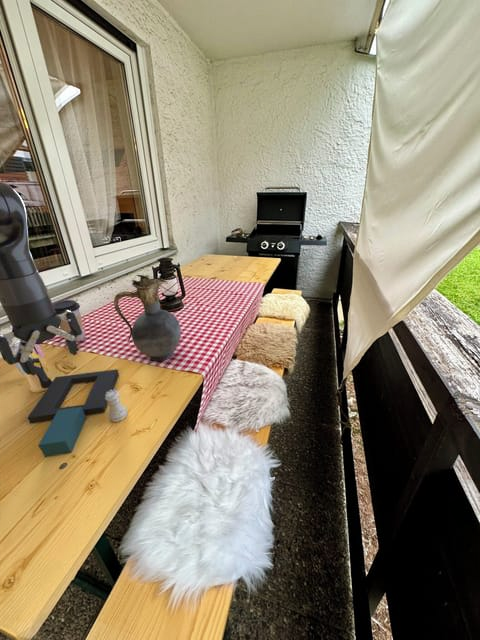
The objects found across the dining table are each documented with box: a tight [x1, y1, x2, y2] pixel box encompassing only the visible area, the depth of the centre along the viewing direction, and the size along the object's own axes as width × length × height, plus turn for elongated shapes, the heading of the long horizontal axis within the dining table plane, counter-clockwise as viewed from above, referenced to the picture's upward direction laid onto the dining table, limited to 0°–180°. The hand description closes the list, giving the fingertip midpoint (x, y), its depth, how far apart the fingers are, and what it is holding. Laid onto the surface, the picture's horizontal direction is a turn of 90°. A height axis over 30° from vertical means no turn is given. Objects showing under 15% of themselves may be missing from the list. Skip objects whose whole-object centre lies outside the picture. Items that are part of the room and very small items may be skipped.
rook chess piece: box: [105, 389, 128, 423], centre depth 66 cm, size 4×4×8 cm
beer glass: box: [9, 340, 55, 394], centre depth 75 cm, size 7×7×15 cm
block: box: [37, 407, 87, 458], centre depth 61 cm, size 6×10×4 cm, turn 10°
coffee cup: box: [53, 299, 86, 343], centre depth 99 cm, size 9×9×15 cm
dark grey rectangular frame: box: [27, 369, 120, 424], centre depth 74 cm, size 18×16×2 cm
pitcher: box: [113, 274, 182, 362], centre depth 84 cm, size 11×19×30 cm, turn 97°
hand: (54, 363), depth 58 cm, fingers open, 8 cm apart
